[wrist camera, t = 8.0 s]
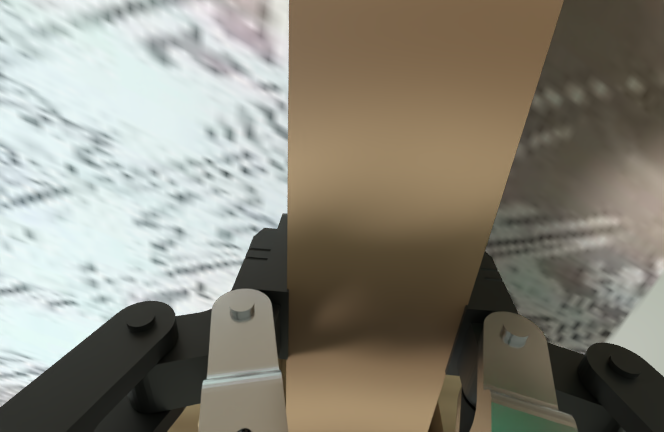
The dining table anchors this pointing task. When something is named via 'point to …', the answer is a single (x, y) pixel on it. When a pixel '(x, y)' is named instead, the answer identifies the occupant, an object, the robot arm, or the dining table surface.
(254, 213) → the dining table surface
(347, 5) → the rail
